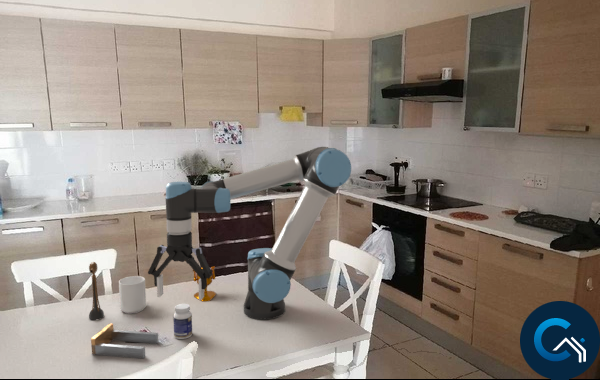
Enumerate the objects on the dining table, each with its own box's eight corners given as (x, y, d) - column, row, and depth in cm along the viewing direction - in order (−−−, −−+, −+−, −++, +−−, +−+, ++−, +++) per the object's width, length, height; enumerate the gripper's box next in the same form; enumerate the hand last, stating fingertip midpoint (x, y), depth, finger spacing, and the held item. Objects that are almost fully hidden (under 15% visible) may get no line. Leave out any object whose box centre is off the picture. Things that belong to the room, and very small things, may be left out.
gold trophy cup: (214, 290, 179) (213, 261, 178) (217, 300, 169) (216, 270, 167) (193, 292, 177) (192, 263, 175) (194, 302, 167) (194, 272, 165)
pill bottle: (192, 338, 139) (191, 308, 138) (174, 340, 138) (172, 310, 136) (191, 330, 145) (190, 301, 143) (173, 332, 143) (172, 303, 142)
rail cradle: (158, 341, 137) (157, 326, 136) (143, 358, 127) (142, 342, 127) (110, 338, 139) (109, 323, 138) (92, 354, 129) (90, 338, 129)
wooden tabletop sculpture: (101, 320, 151) (98, 264, 148) (87, 322, 150) (83, 265, 147) (105, 313, 157) (101, 259, 154) (90, 314, 156) (87, 260, 153)
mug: (142, 314, 156) (141, 284, 155) (116, 314, 156) (115, 284, 154) (151, 300, 168) (150, 272, 167) (127, 301, 168) (126, 273, 166)
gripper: (222, 230, 138) (222, 295, 141) (146, 227, 141) (149, 289, 144) (214, 236, 131) (215, 304, 134) (135, 232, 134) (137, 298, 137)
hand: (180, 297), depth 139 cm, fingers open, 13 cm apart
